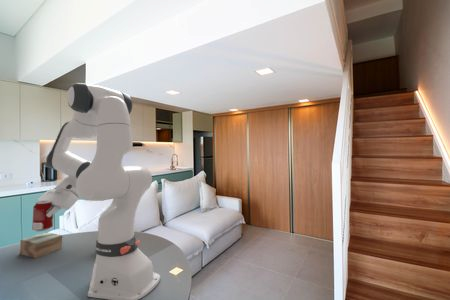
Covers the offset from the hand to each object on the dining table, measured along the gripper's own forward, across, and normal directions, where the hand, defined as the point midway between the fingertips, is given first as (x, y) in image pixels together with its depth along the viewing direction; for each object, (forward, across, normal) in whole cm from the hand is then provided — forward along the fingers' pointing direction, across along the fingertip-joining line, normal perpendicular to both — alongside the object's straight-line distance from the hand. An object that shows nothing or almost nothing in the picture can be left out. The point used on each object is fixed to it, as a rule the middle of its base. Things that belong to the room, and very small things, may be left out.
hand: (41, 215), depth 92 cm
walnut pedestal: (+11, 0, +12) cm, 16 cm away
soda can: (+4, 0, +5) cm, 7 cm away
